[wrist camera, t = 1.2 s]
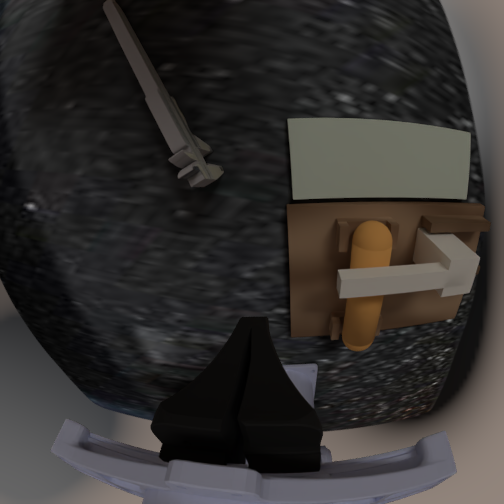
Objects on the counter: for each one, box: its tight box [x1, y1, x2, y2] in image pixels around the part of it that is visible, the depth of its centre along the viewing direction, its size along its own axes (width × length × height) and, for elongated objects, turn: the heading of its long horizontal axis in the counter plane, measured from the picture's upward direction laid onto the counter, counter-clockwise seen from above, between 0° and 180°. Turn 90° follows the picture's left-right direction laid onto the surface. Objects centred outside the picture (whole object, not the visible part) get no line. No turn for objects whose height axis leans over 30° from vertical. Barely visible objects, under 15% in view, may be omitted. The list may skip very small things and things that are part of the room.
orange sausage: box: [342, 220, 392, 351], centre depth 20 cm, size 12×3×3 cm, turn 5°
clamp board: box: [287, 202, 491, 340], centre depth 21 cm, size 13×19×3 cm
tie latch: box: [336, 228, 480, 298], centre depth 18 cm, size 3×11×6 cm, turn 95°
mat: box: [287, 118, 470, 200], centre depth 18 cm, size 6×16×1 cm, turn 95°
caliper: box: [103, 0, 224, 187], centre depth 14 cm, size 20×1×6 cm, turn 30°
